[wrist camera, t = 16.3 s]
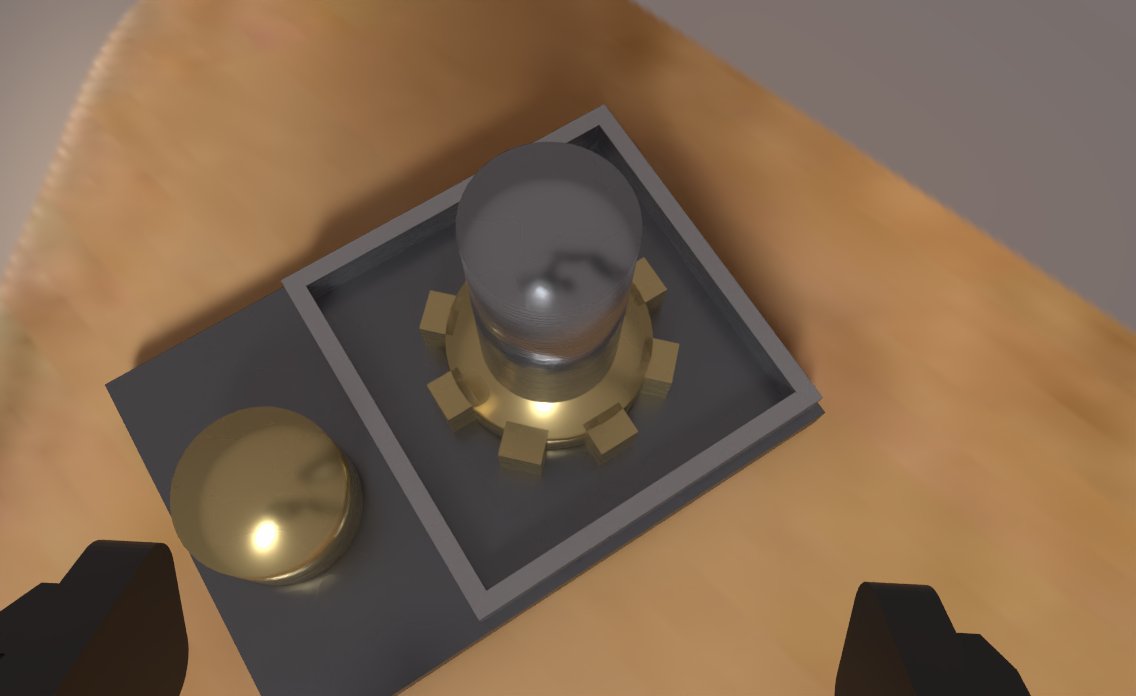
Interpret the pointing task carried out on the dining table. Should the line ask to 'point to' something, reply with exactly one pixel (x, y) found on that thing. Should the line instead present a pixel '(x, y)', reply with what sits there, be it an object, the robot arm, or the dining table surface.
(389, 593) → the tray
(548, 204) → the gear
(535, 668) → the dining table surface
